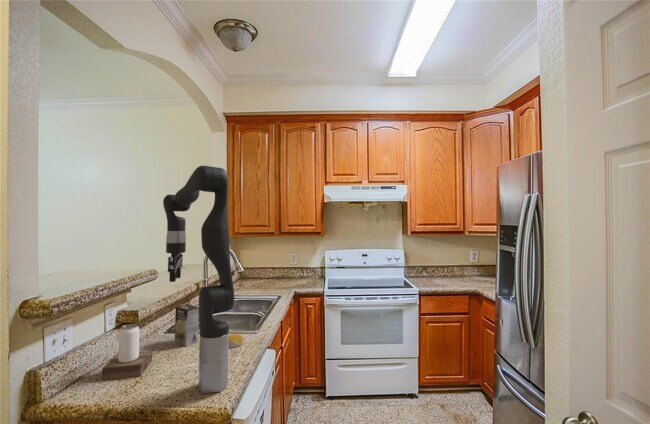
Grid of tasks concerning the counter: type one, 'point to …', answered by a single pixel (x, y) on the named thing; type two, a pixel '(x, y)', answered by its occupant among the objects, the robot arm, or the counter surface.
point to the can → (128, 343)
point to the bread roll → (235, 341)
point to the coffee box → (186, 324)
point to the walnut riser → (127, 367)
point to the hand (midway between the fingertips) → (175, 279)
